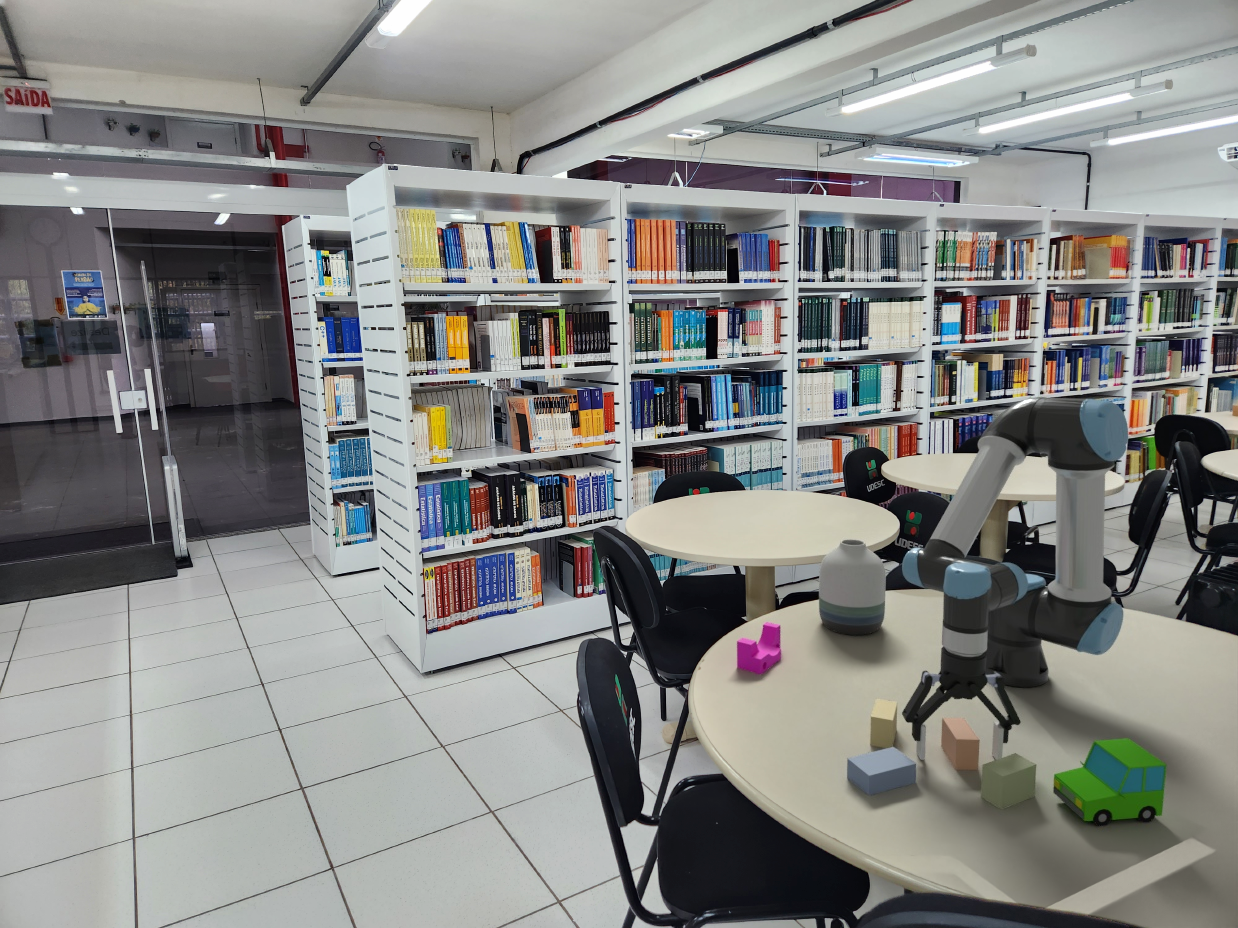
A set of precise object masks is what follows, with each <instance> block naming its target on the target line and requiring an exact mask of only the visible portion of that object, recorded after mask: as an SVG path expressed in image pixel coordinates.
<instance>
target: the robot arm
mask: <svg viewBox="0 0 1238 928" xmlns="http://www.w3.org/2000/svg"><path fill="white" fill-rule="evenodd" d="M1127 422H1128V421H1127V418H1126V416H1125V413H1124V412H1123V410H1122V409H1121V408H1120V406H1119V405H1118V404H1117V403H1115V402H1113V401H1109V400H1099V399H1095V398H1071V397H1067V398H1066V397H1062V398H1061V397H1045V396H1044V397H1043V396H1037V397H1036V396H1035V397H1030V398H1026V399H1023V400H1021V401H1019V402H1017V403H1014V404H1013V405H1011V406H1008V407H1007V408H1006V409H1005V410H1004V411H1002V412H1001V413H1000V414H999V415H997V417H996V418H994V419H993V420H992V422H990V423H989V425H988V426H987V428H985V430H984V431H983V433H982V434H981V436H980V437H979V440H978V441H977V448H978V452H977V454H976V456H975V457H974V459H973V461H972V463H971V465H970V466H969V468H968V470H967V472H966V474H965V475H964V477H963V479H962V480H961V482H960V485H959V486H958V487H957V490H956V492H955V494H954V495H953V497H952V499H951V501H950V502H949V504H948V506H947V508H946V509H945V511H944V514H942V516H941V519H940V521H939V522H938V524H937V526H936V527H935V529H934V531H933V532H932V534H931V537H930V538H929V540H928V541H927V543H926V545H925V547H912V548H911V549H910V550H909V551H907V552H906V554H905V556H904V557H903V560H902V567H901V568H902V569H901V570H902V575H903V577H904V578H905V580H906V581H907V582H908V583H911V585H912V584H913V585H915V586H918V587H920V588H924V589H926V590H927V589H928V590H932V591H937V592H941V593H943V604H942V605H943V606H942V607H943V608H942V609H943V611H942V629H941V630H942V632H941V645H942V647H941V648H940V651H941V652H940V669H939V672H938V674H937V673H930V672H929V671H928V670H923V671H922V672H921V678H920V682H919V684H918V685H917V687H916V688H915V690H914V691H913V694H912V695H911V696H910V698H909V700H908V702H907V703H906V705H905V707H904V708H903V710H902V712H901V715H902V717H903V718H904V721H905V722H906V723H908V724H909V723H911V736H912V738H913V741H914V742H916V749H915V750H916V754H917V756H918V758H919V760H921V761H925V760H926V736H927V726H926V724H925V722H926V721H927V720H928V719H929V718H930V717H931V716H933V714H934V713H935V712H936V711H937V710H939V708H940V707H941V706H943V704H945V703H947V702H948V701H950V699H952V698H953V699H954V700H963V699H965V700H969V701H970V700H973V699H974V698H976V697H977V698H978V699H979V700H980V702H981V703H982V704H983V705H984V706H985V708H987V710H989V712H990V713H991V714H992V716H993V717H994V718H996V720H997V721H993V728H992V746H991V747H992V749H991V755H992V757H993V758H994V760H997V759H1000V758H1003V749H1004V744H1008V742H1009V731H1011V730H1012V729H1013V726H1014V725H1016V726H1019V725H1020V724H1021V722H1022V721H1021V718H1020V717H1019V715H1018V712H1017V711H1016V709H1015V707H1014V705H1013V703H1012V701H1011V699H1010V697H1009V695H1008V692H1007V691H1006V689H1005V685H1006V686H1012V687H1019V688H1020V687H1021V688H1030V687H1031V688H1033V687H1037V686H1038V687H1039V686H1042V685H1044V684H1045V683H1047V682H1048V680H1049V671H1050V670H1049V666H1048V663H1047V659H1046V656H1045V653H1044V650H1043V647H1042V641H1044V642H1047V643H1051V644H1054V645H1056V646H1057V645H1058V646H1061V647H1064V648H1067V649H1070V650H1075V651H1077V652H1078V653H1086V654H1089V655H1092V656H1093V655H1094V656H1100V655H1103V654H1106V653H1107V652H1108V651H1109V650H1110V649H1111V648H1112V647H1113V645H1114V644H1115V642H1116V640H1117V639H1118V637H1119V634H1120V633H1121V630H1122V625H1123V623H1124V621H1123V620H1124V609H1123V607H1122V605H1121V604H1118V603H1117V602H1116V601H1114V602H1112V590H1111V588H1110V587H1108V586H1107V585H1106V583H1104V558H1105V557H1104V555H1105V554H1104V552H1105V551H1104V549H1105V547H1104V546H1105V545H1104V543H1105V540H1104V539H1105V508H1106V507H1105V496H1106V494H1105V493H1106V474H1107V473H1108V472H1109V471H1111V470H1112V469H1113V468H1114V467H1115V461H1118V460H1120V459H1121V458H1122V457H1123V456H1124V454H1125V453H1126V450H1127V444H1128V443H1129V427H1128V423H1127ZM1032 453H1037V454H1045V455H1047V467H1049V468H1050V470H1052V471H1054V473H1055V477H1056V479H1055V481H1056V483H1055V487H1056V488H1055V491H1056V492H1055V505H1056V506H1055V579H1054V580H1052V581H1051V582H1050V583H1049V584H1047V582H1046V579H1045V578H1044V577H1042V576H1040V575H1037V574H1030V573H1025V572H1024V570H1023V569H1022V568H1020V567H1019V566H1018V565H1017V564H1014V563H1011V562H996V563H995V564H989V563H984V562H981V561H975V560H972V559H967V558H966V557H967V555H968V553H969V551H970V550H971V548H972V545H973V544H974V542H975V540H976V539H977V536H978V535H979V533H980V531H981V529H982V527H983V525H984V524H985V522H986V520H987V518H988V517H989V515H990V512H991V511H992V509H993V507H994V505H995V503H996V502H997V499H998V498H999V496H1000V494H1001V492H1002V491H1003V489H1004V487H1005V485H1006V484H1007V481H1008V479H1009V477H1010V476H1011V474H1012V472H1013V470H1014V469H1015V467H1016V466H1019V465H1022V464H1023V462H1024V461H1025V459H1026V457H1027V456H1028V455H1030V454H1032ZM1046 585H1047V586H1046ZM937 682H939V684H940V685H939V686H938V687H937V688H936V689H935V692H934V693H933V694H932V695H931V696H930V697H929V698H928V699H927V700H926V698H927V697H928V696H929V693H930V691H931V689H932V687H934V686H935V684H936V683H937ZM988 683H989V685H990V686H991V687H992V688H994V690H995V692H996V695H997V696H998V698H999V700H1000V702H1001V705H1002V707H1003V708H1004V710H1005V712H1006V714H1007V715H1005V716H1004V715H1003V713H1001V711H1000V710H999V709H998V708H997V707H996V706H995V704H994V703H993V702H992V701H991V700H990V699H989V697H988V696H987V695H986V694H985V693H984V692H983V689H985V686H987V684H988ZM925 700H926V701H925ZM924 701H925V702H924Z"/></svg>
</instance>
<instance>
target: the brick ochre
mask: <svg viewBox="0 0 1238 928" xmlns="http://www.w3.org/2000/svg"><path fill="white" fill-rule="evenodd" d="M897 724H898V701H895V700H894V701H893V700H888V699H882V698H875V701H874V705H873V709H872V712H871V715H870V735H869V736H870V739H869V744H870V746H873V747H878V748H883V749H886V748H890V747H894V742H895V739H896V733H897V727H898V725H897Z"/></svg>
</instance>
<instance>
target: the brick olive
mask: <svg viewBox="0 0 1238 928" xmlns="http://www.w3.org/2000/svg"><path fill="white" fill-rule="evenodd" d="M1036 776H1037V764H1036V763H1034V762H1033V761H1031V760H1029V759H1027V758H1025V757H1024V756H1021V755H1020V754H1018V753H1016V752H1015V753H1012V754H1010V755H1006V756H1002V758H1000V759H997V760H996V759H994V760H991V761H989V762H987V763H983V764H982V765H981V787H980V798H982V799H983V800H984V801H986V802H989V803H990V804H992V805H993V806H994V807H996V808H998V809H1000V810H1004V809H1006V808H1008V807H1011V806H1014V805H1016V804H1019V803H1022V802H1024V801H1026V800H1029V799H1032V798H1034V797H1035V792H1036V791H1035V790H1036Z"/></svg>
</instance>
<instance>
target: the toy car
mask: <svg viewBox="0 0 1238 928" xmlns="http://www.w3.org/2000/svg"><path fill="white" fill-rule="evenodd" d="M1085 758H1086V759H1085V760H1084V763H1083V762H1082V761H1081V760H1080V764H1081V765H1082V766H1081V767H1078V768H1077V767H1076V768H1074V769H1069V770H1066V771H1061V772H1057V773H1054V775H1053V788H1052V789H1053V790H1052V791H1053V794H1054V795H1055V796H1057V798H1059V800H1060V801H1062V802H1063V803H1064V804H1065V805H1067V806H1068V807H1069V808H1070V809H1071V811H1073V812H1074V813H1075V814H1076V815H1077V816H1078V817H1080V818H1081V819H1082V821H1084V822H1092V823H1094V825H1096V826H1097V827H1105V826H1108V825H1109V823H1110V822H1111V820H1112V821H1113V820H1114V821H1115V820H1125V819H1126V820H1127V819H1137V820H1138V821H1139V822H1140V823H1150V822H1152V821H1153V819H1155V817H1158V816H1159V817H1161V816H1163V808H1164V796H1165V788H1166V787H1165V786H1166V777H1167V776H1166V775H1167V774H1166V773H1167V764H1166V763H1165V762H1163V761H1162V760H1161V759H1159V758H1158V757H1156V756H1155V755H1153V754H1152V753H1151V752H1150V751H1149V752H1148V751H1147V750H1146V749H1145V748H1143V747H1142V746H1140V745H1139V744H1137V743H1136V742H1134V741H1133V740H1132V739H1130V738H1115V739H1103V740H1102V739H1101V740H1094V741H1093V743H1092V744H1091V747H1090V749H1089V751H1088V753H1087V756H1086V757H1085Z"/></svg>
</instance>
